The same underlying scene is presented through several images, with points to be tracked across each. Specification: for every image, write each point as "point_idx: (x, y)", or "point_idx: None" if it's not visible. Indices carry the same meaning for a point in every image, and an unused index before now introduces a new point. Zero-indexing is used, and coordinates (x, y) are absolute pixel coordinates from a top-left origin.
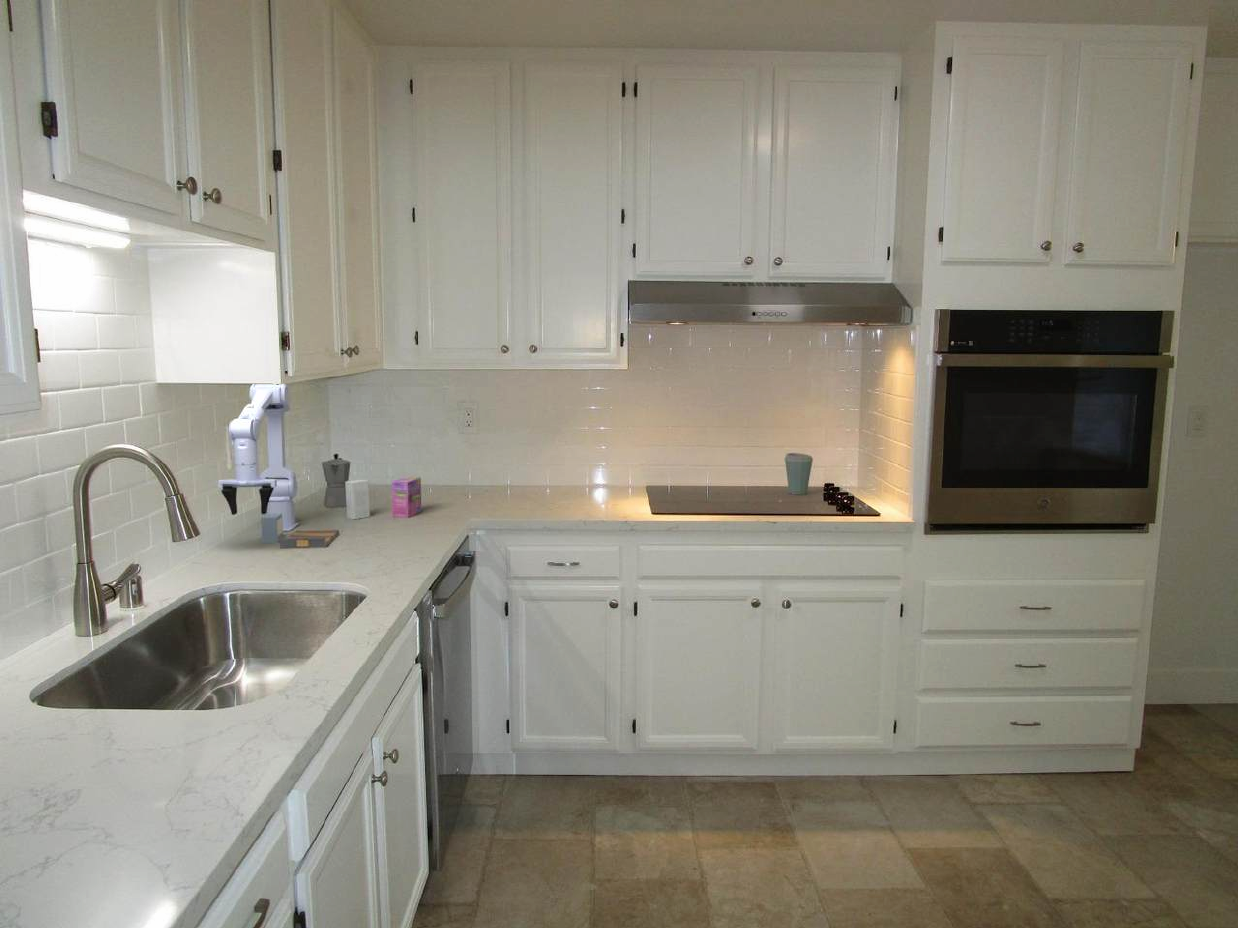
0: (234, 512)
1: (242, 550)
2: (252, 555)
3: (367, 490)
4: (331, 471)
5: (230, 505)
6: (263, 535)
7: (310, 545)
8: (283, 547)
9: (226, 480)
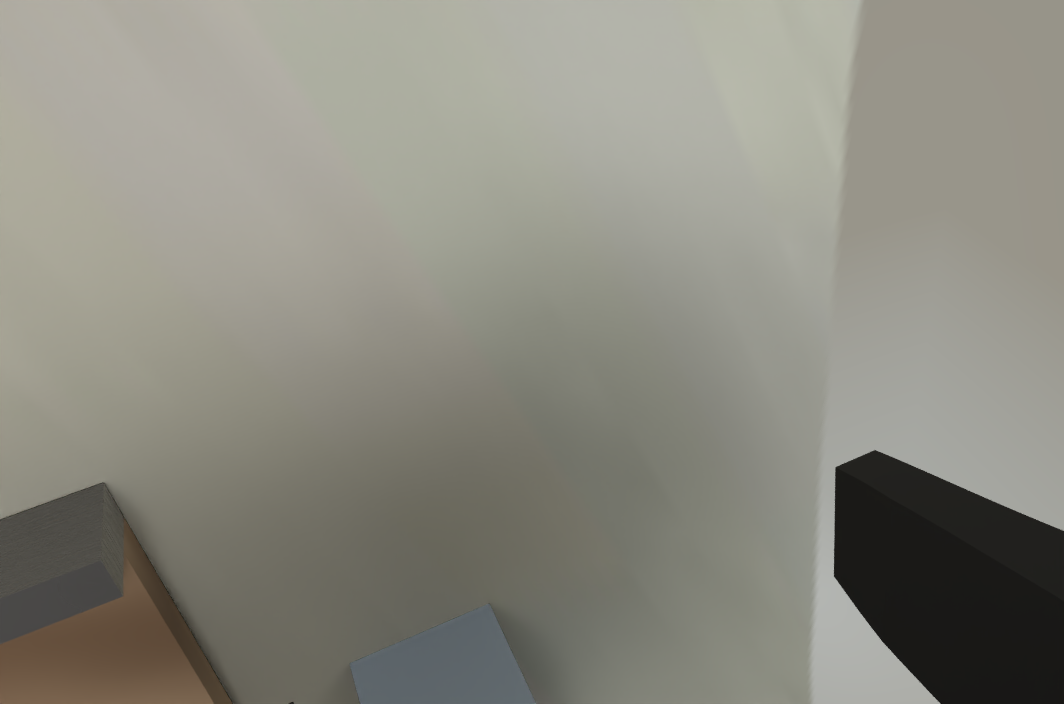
0: (866, 504)
1: (507, 277)
2: (215, 67)
3: None
4: None
5: (1060, 552)
6: (502, 662)
7: None
8: (60, 504)
9: None
